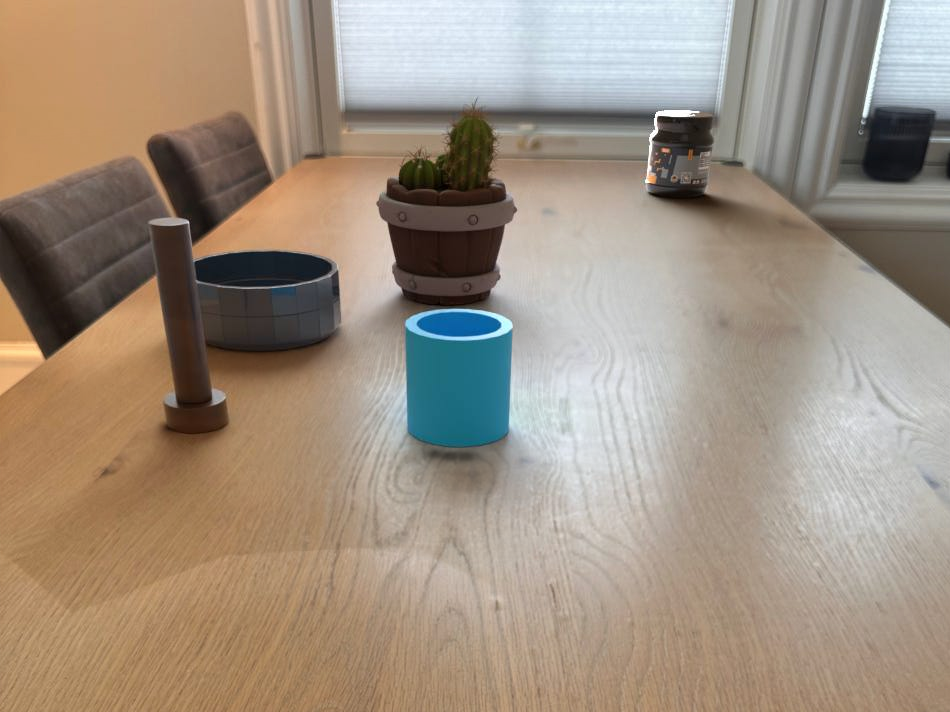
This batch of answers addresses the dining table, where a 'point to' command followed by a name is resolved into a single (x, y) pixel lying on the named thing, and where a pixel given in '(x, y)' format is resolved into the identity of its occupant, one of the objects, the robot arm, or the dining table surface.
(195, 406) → the stick
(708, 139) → the supplement container
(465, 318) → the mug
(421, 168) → the flowerpot
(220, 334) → the bowl
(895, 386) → the dining table surface
